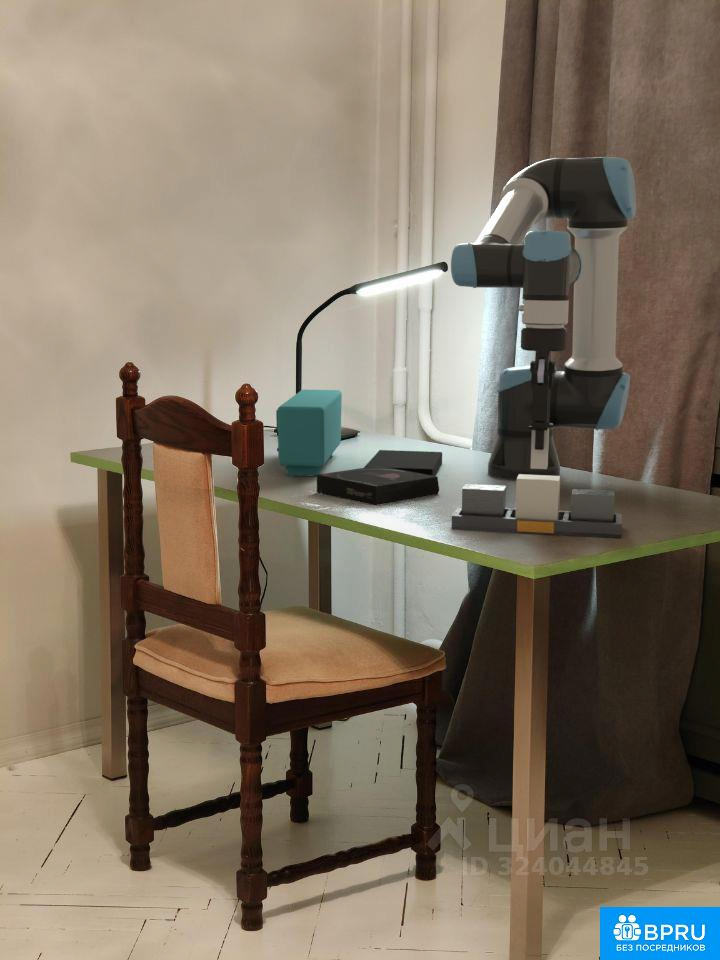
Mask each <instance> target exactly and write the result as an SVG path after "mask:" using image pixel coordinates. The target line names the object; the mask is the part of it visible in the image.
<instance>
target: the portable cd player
mask: <svg viewBox="0 0 720 960" xmlns="http://www.w3.org/2000/svg"><path fill="white" fill-rule="evenodd" d="M317 492H318V493H317ZM439 492H440V486H439V478H438V476H437V475H436V476H432V475H426V474H421V473H415V472H410V471H404V470H399V469H393V468H388V467H382V466H373V467H366V468H364V467H362V468H354V469H346V470H339V471H333V472H327V473H319V474H318V475H317V476H316V493H317V494H320V493H322V495H325V494H326V495H325V496H329V495H330V496H329V497H335V498H340V499H343V500H344V499H345V500H349V501H353V502H358V503H363V504H368V505H371V506H381V504H382V505H386V504H391V503H399V502H403V501H409V500H415V499H419V498H425V497H426V498H427V497H431V496H437V495H439Z"/></svg>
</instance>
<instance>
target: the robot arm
mask: <svg viewBox="0 0 720 960" xmlns="http://www.w3.org/2000/svg"><path fill="white" fill-rule="evenodd" d="M635 182H636V181H635V177H634V171H633V169H632V166H631V164H630V162H629V160H627V159H625V158H623V157H613V156H612V157H611V156H610V157H609V156H601V157H600V156H599V157H598V156H597V157H566V158H560V157H557V158H556V157H554V158H552V157H551V158H547V159H544V160H541V161H537V162H535V163H533V164H531V165H530V166H527V167H525V168H524V169H522V170H521V171H518V172H517V173H516V174H515V175H513V176H512V177H511V178H510V179H509V181H507V182H506V184H505V185H504V187H503V189H502V190H501V192H500V196H499V204H498V206H497V208H496V209H495V211H494V213H493V214H492V215H491V217H490V219H488V220H489V221H488V222H487V223H486V225H485V226H484V228H483V229H482V231H481V233H480V234H479V236H478V238H477V239H476V241H474V243H472V242H467V243H458V244H456V246H454V248H453V250H452V251H451V259H450V272H451V277H452V281H453V283H454V284H455V285H456V286H458V287H467V288H468V287H469V288H473V289H476V288H489V289H490V288H496V289H497V288H503V289H505V288H506V289H507V288H509V289H510V288H512V289H513V288H514V289H515V288H516V289H522V302H521V303H522V304H520V305H519V306H518V311H519V312H523V313H521V323H522V324H523V325H525V326H524V327H522V328H521V330H520V348H521V349H522V350H523V351H527V352H535V355H534V356H535V357H534V360H531V361H530V364H526V365H518V366H511V367H508V368H505V369H503V370H502V371H501V373H500V374H499V383H498V389H497V394H498V396H497V400H498V401H497V435H496V441H495V444H494V445H493V449H492V450H491V451H492V452H491V454H490V456H489V460H488V465H487V474H488V475H489V476H491V477H495V478H499V479H504V480H513V481H515V480H516V481H517V477H518V475H519V474H526V475H548V476H560V477H561V463H560V461H559V457H558V452H557V449H556V447H555V442H554V428H567V429H569V428H570V429H585V430H595V431H599V430H615V429H618V427H619V426H620V425H621V424H622V422H623V418H624V416H625V412H626V407H627V403H628V399H629V393H630V392H629V391H630V386H631V382H630V381H631V375H630V374H629V373H626V372H623V363H622V362H621V361H620V359H619V358H617V356H616V340H617V313H618V311H617V307H618V304H617V303H618V283H619V282H618V280H619V279H618V277H619V275H618V274H619V247H620V245H619V243H620V235H622V233H624V232H625V230H626V229H628V220H631V219H634V218H635V217H636V214H637V194H636V193H637V191H636V184H635ZM543 219H544V220H545V219H566V220H567V230H569V232H570V233H571V234H572V235H573V236H574V247H573V246H572V244H571V234H570V233H569V232H568V231H565V230H531V229H532V228H533V227H534V225H536V224H537V223H539V222H540V221H542V220H543ZM571 286H573V311H572V312H573V313H572V315H573V317H572V319H573V320H572V321H573V322H572V353H571V354H572V355H571V357H570V358H568V360H567V361H565V363H564V371H563V370H557V366H556V361H555V360H554V361H552V352H562V351H563V352H564V351H565V350H566V349H567V345H568V330H567V328H565V326H566V325H567V324H568V323H569V308H570V307H569V303H570V300H569V288H570V287H571Z"/></svg>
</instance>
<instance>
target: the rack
mask: <svg viewBox="0 0 720 960" xmlns="http://www.w3.org/2000/svg"><path fill="white" fill-rule="evenodd" d="M461 491H462V492H461V505H457V507H456V509H455V510H454V512H453V513H452V514H451V530H457V529H460V530H461V531H463V530H464V531H476V532H477V531H479V532H495V533H496V532H498V533H500V532H501V533H513V534H514V533H515V534H536V535H537V534H539V535H550V536H551V535H554V536H573V537H590V538H592V537H593V538H606V539H607V538H608V539H609V538H611V539H622V535H623V533H622V531H623V514H622V513H619V512H617V513H616V512H615V496H616V495H615V494H616V493H615V490H604V489H586V488H585V489H581V488H572V489H571V497H570V499H571V500H570V501H571V502H570V510H559V520H548V519H529V518H515V512H516V507H514V508H513V507H506V505H507V502H506V500H507V499H506V498H507V485H499V484H497V485H496V484H495V485H494V484H474V483H465V484H464V485H463V487H462V490H461Z"/></svg>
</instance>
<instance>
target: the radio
mask: <svg viewBox="0 0 720 960" xmlns="http://www.w3.org/2000/svg"><path fill="white" fill-rule="evenodd" d="M342 397H343V396H342V391H341V390H338V389H337V390H336V389H301V390H300V391H298V392H297V393H296V394H295V395H293V396H292V397H290V398H289V399H287V400H286V401H285V402H284V403H282V404H281V405H279V406H278V408H277V409H276V411H275V412H276V414H275V415H276V419H275V420H276V430H277V449H276V452H278V464H279V465H280V466H285V467H286V468H285V469H286V472H287V476H288V475H318V474H320V470H321V468H322V467H323V466H324V465H325V464H326V463H327V462H328V460H329V459H330V458H332V457H333V454H334V452H335V451H336V449H337V448H338V447H339V446H340V444H341V442H342V441H341V440H342V439H341V438H342V437H341V436H342Z"/></svg>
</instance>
